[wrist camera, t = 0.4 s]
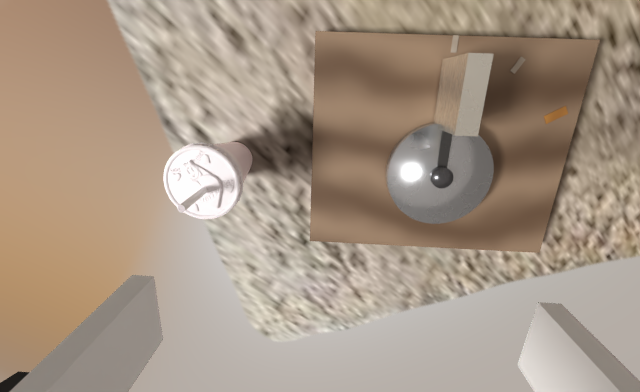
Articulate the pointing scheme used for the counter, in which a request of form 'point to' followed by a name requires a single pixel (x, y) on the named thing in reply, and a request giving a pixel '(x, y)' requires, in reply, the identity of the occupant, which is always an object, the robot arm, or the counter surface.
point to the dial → (446, 148)
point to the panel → (419, 108)
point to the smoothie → (207, 178)
